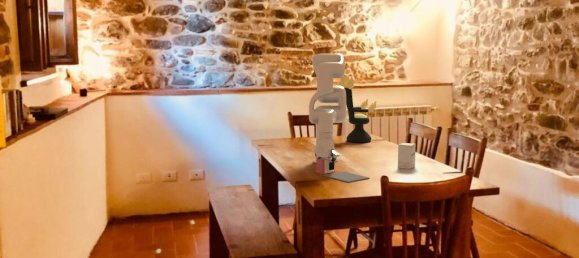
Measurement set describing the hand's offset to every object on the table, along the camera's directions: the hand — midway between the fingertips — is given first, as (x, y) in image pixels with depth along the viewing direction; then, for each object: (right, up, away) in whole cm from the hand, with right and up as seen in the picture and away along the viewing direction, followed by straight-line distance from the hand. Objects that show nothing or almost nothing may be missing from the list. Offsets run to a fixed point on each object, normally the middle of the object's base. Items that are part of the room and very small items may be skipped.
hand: (325, 168), depth 316 cm
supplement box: (+44, -1, +12) cm, 45 cm away
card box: (0, -2, 0) cm, 2 cm away
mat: (+10, -4, -12) cm, 16 cm away
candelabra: (+26, +12, +98) cm, 102 cm away
